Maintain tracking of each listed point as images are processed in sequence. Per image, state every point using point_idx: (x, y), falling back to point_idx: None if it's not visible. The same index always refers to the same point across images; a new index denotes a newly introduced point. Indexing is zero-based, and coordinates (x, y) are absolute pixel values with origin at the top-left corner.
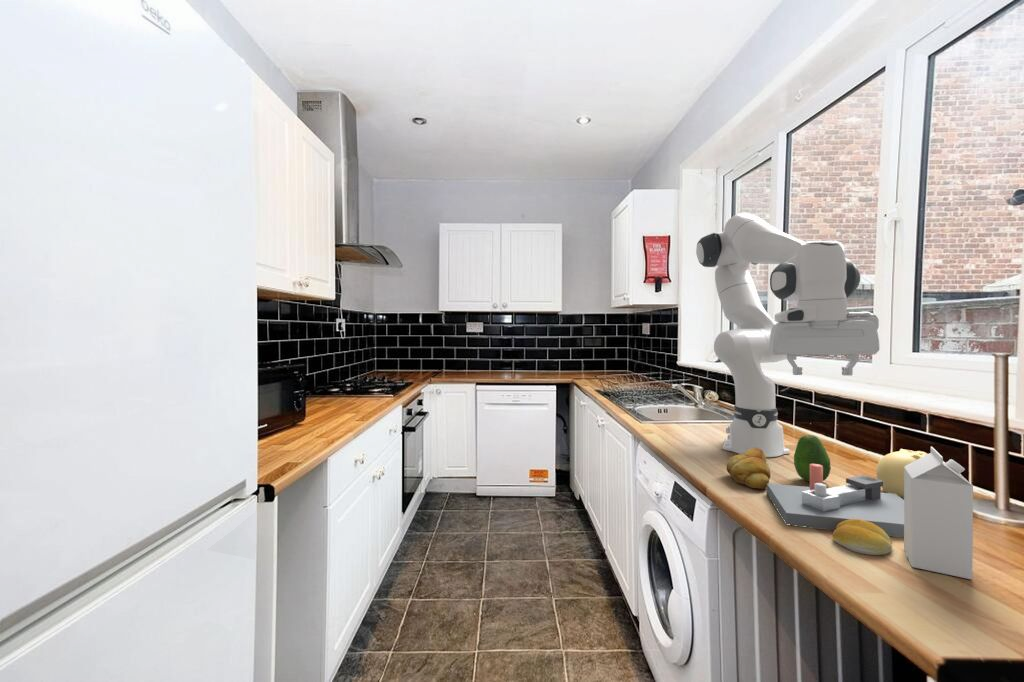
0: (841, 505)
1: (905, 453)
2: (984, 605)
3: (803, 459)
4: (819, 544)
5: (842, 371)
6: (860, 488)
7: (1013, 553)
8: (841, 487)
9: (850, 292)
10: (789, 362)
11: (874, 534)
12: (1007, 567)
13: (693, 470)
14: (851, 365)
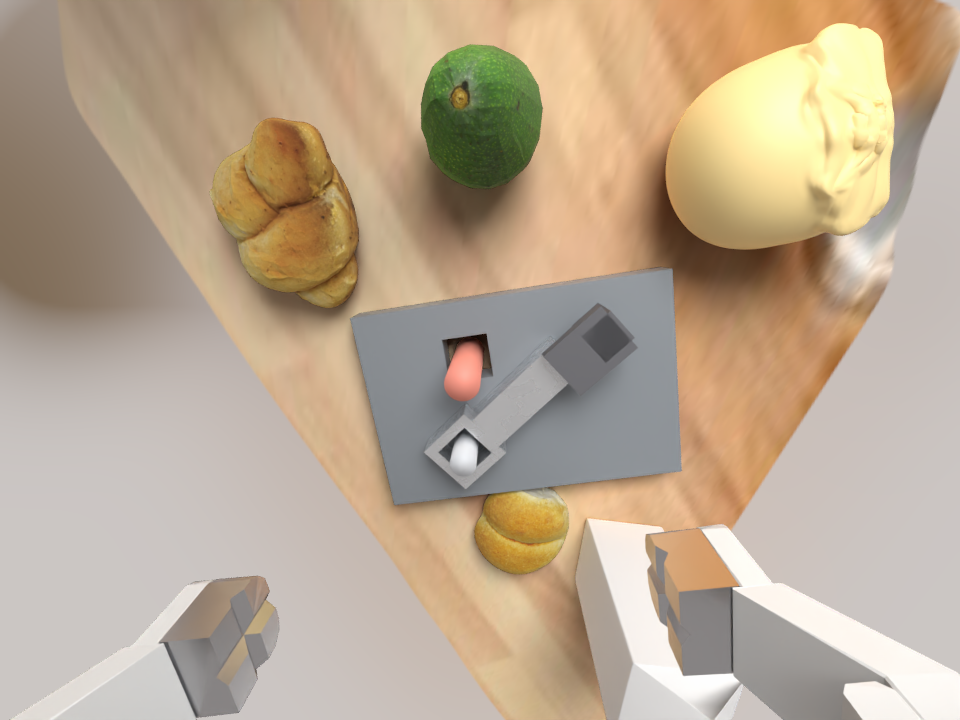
0: None
1: (801, 159)
2: None
3: (448, 170)
4: (450, 548)
5: (661, 564)
6: None
7: (771, 463)
8: (524, 383)
9: None
10: (47, 709)
11: (538, 559)
12: (725, 523)
13: (134, 171)
14: (775, 700)
